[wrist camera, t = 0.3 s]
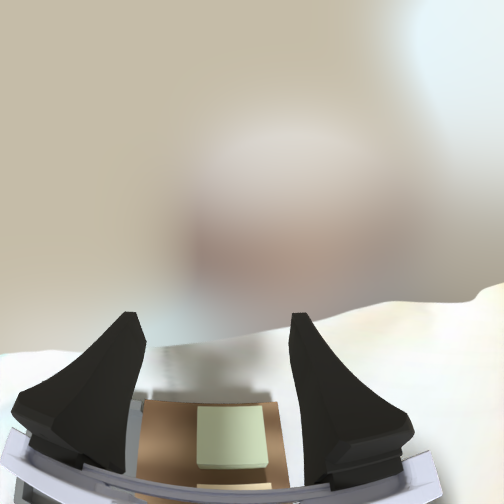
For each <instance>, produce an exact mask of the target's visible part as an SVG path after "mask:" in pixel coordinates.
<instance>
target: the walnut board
mask: <svg viewBox="0 0 504 504" xmlns="http://www.w3.org/2000/svg"><path fill="white" fill-rule="evenodd" d="M198 406H209V407H238V406H262V411H263V419H264V428H265V437H266V445H267V454H268V462H269V463H268V464H267V466H266V468H255V469H200V468H199V467H198V465H197V409H198ZM136 478H138V479H142V480H147V481H152V482H158V483H163V484H170V485H176V486H184V487H193V488H197V484H205V485H243V484H261V483H271V487H272V489H284V488H290V483H289V476H288V470H287V463H286V456H285V449H284V443H283V436H282V429H281V423H280V416H279V409H278V403H277V402H266V403H243V404H204V403H181V402H167V401H156V400H146V399H145V402H144V409H143V416H142V423H141V431H140V440H139V449H138V459H137V471H136ZM135 497H136V498H139V499H142V500H145V501H147V504H197V503H192V502H184V501H176V500H170V499H164V498H158V497H153V496H148V495H144V494H139V493H135ZM287 504H293V503H287Z"/></svg>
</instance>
